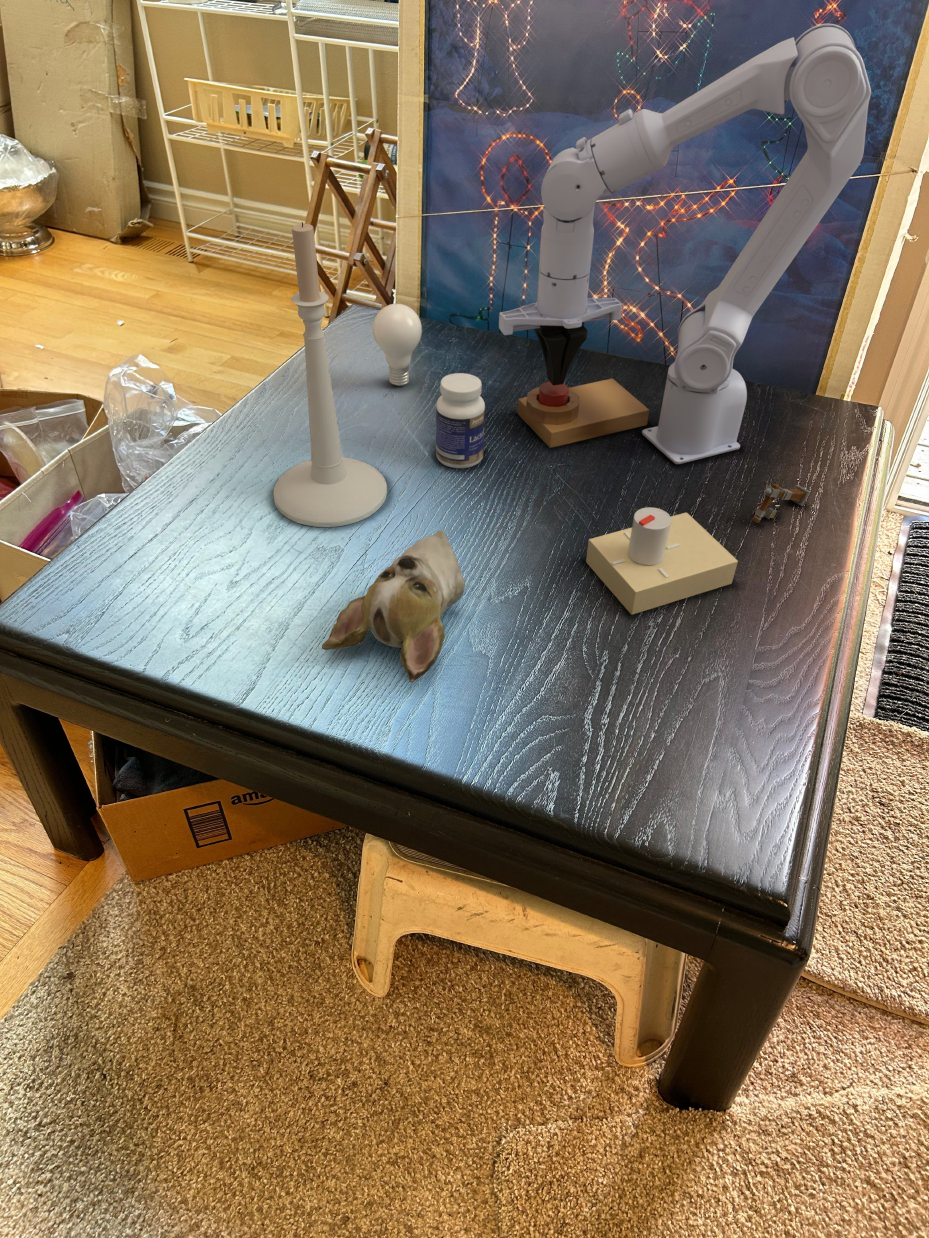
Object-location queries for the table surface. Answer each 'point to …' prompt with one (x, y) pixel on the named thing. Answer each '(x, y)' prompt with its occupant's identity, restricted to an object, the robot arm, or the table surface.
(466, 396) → the pill bottle
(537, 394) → the button block
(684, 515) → the rotary dial block
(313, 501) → the candlestick
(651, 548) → the tap knob
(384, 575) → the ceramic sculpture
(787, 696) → the table surface
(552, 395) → the stop button
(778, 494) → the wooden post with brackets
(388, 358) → the lightbulb
